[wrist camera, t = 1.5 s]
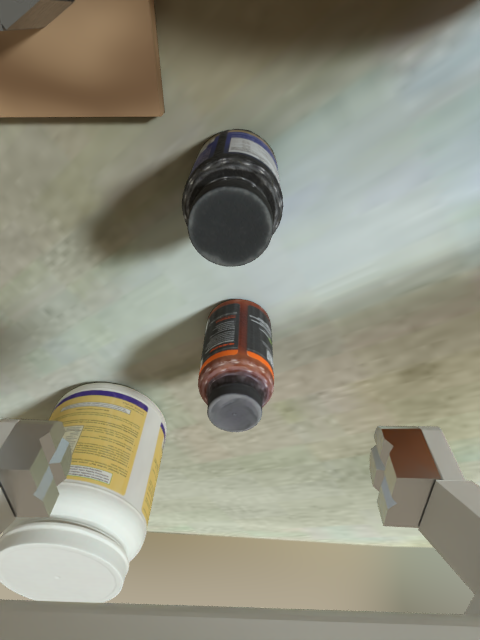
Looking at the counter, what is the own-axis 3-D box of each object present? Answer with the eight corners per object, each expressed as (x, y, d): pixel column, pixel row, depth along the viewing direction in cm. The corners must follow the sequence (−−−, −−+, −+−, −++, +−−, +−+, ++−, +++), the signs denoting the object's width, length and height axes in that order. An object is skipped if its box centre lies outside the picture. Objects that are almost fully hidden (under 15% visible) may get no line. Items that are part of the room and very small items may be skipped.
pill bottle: (214, 219, 35) (199, 291, 26) (182, 144, 32) (153, 195, 23) (288, 194, 34) (299, 260, 25) (263, 113, 31) (265, 154, 22)
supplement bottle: (195, 329, 42) (176, 419, 32) (230, 284, 39) (221, 370, 29) (246, 358, 43) (243, 452, 34) (284, 317, 40) (292, 408, 31)
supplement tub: (34, 403, 48) (-57, 561, 34) (119, 359, 44) (56, 518, 30) (109, 465, 54) (57, 623, 40) (191, 432, 50) (164, 593, 36)
